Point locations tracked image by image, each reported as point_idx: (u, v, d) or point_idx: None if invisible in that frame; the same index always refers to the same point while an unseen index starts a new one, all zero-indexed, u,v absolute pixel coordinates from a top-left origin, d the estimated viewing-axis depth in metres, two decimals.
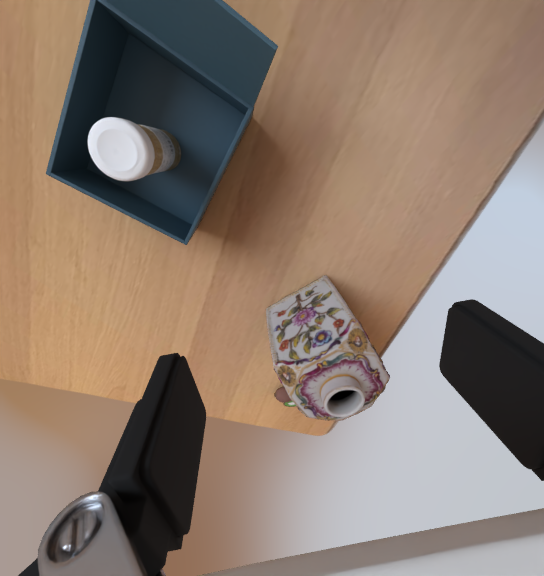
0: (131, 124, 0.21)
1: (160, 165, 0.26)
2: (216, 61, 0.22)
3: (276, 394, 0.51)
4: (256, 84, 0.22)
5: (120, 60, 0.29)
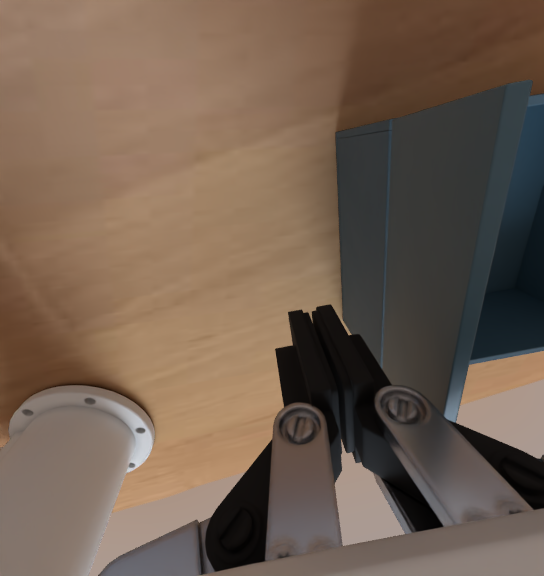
0: None
1: None
2: None
3: None
4: None
5: None
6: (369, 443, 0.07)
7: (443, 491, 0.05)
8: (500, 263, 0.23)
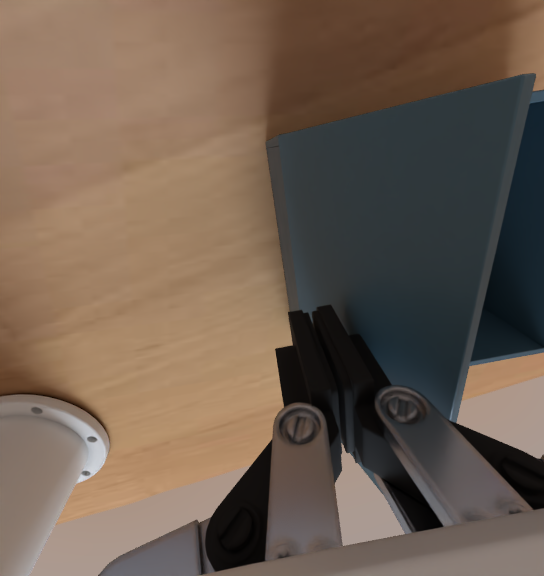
0: None
1: None
2: None
3: None
4: None
5: None
6: (369, 443, 0.07)
7: (443, 491, 0.05)
8: None
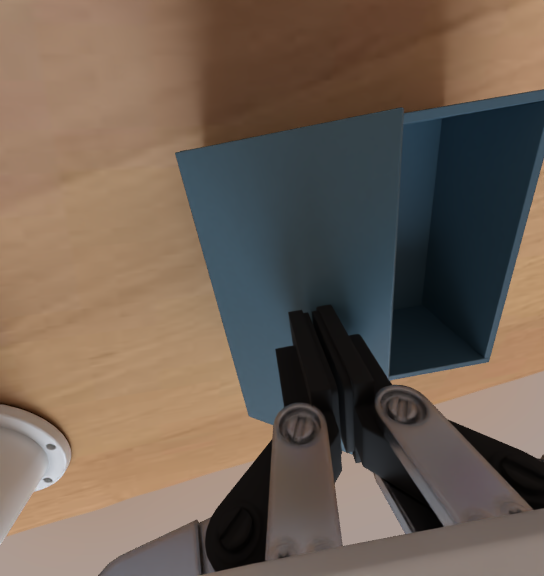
0: None
1: None
2: None
3: None
4: None
5: None
6: (369, 443, 0.07)
7: (443, 491, 0.05)
8: (401, 280, 0.23)
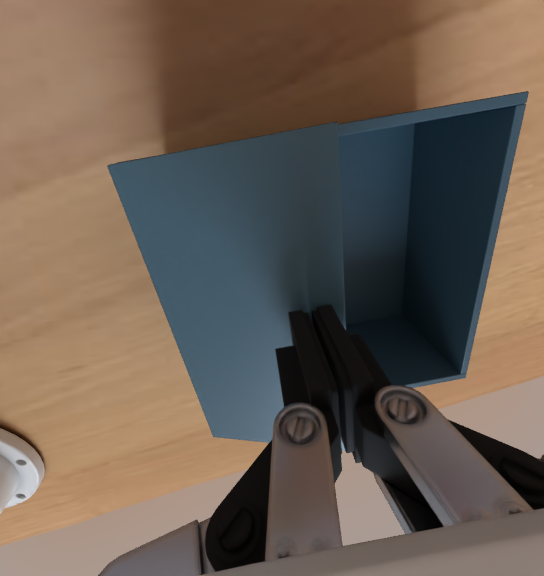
0: None
1: None
2: None
3: None
4: None
5: None
6: (369, 443, 0.07)
7: (443, 491, 0.05)
8: (380, 290, 0.22)
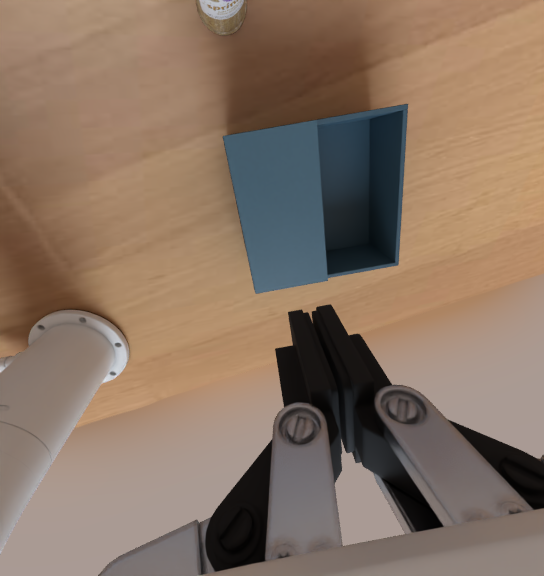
0: None
1: None
2: None
3: None
4: None
5: None
6: (369, 443, 0.07)
7: (443, 491, 0.05)
8: (354, 225, 0.34)
